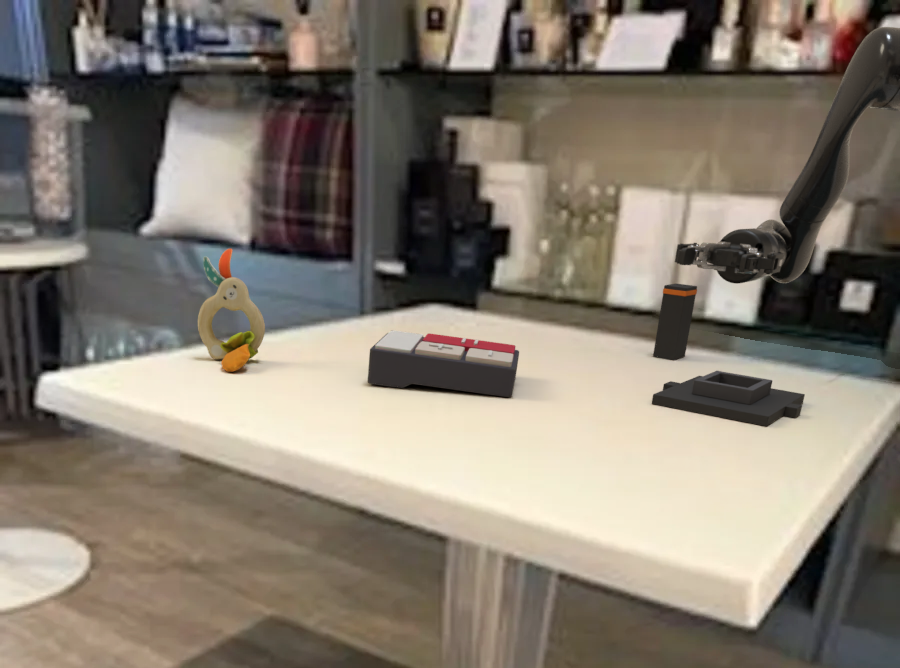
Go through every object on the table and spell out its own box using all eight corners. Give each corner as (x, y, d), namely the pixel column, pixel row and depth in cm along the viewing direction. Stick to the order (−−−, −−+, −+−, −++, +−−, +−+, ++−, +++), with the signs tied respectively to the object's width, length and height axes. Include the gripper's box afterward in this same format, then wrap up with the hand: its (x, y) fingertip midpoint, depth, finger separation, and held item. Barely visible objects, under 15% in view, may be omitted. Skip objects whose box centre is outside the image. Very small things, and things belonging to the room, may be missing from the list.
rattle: (175, 366, 92) (166, 250, 87) (212, 353, 100) (205, 245, 95) (240, 374, 91) (235, 256, 86) (273, 360, 98) (270, 251, 93)
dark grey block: (663, 352, 119) (675, 283, 115) (685, 356, 118) (698, 286, 114) (652, 356, 116) (663, 285, 112) (674, 360, 114) (686, 288, 111)
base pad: (687, 382, 102) (691, 360, 101) (814, 405, 95) (819, 382, 94) (640, 401, 91) (644, 377, 90) (779, 429, 85) (785, 403, 83)
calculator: (516, 361, 87) (369, 341, 88) (510, 403, 89) (366, 383, 90) (520, 343, 97) (388, 324, 98) (515, 381, 99) (385, 363, 100)
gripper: (707, 224, 134) (668, 225, 122) (801, 233, 127) (770, 235, 115) (697, 276, 137) (658, 282, 125) (789, 287, 130) (757, 295, 118)
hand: (712, 260), depth 120 cm, fingers open, 8 cm apart
